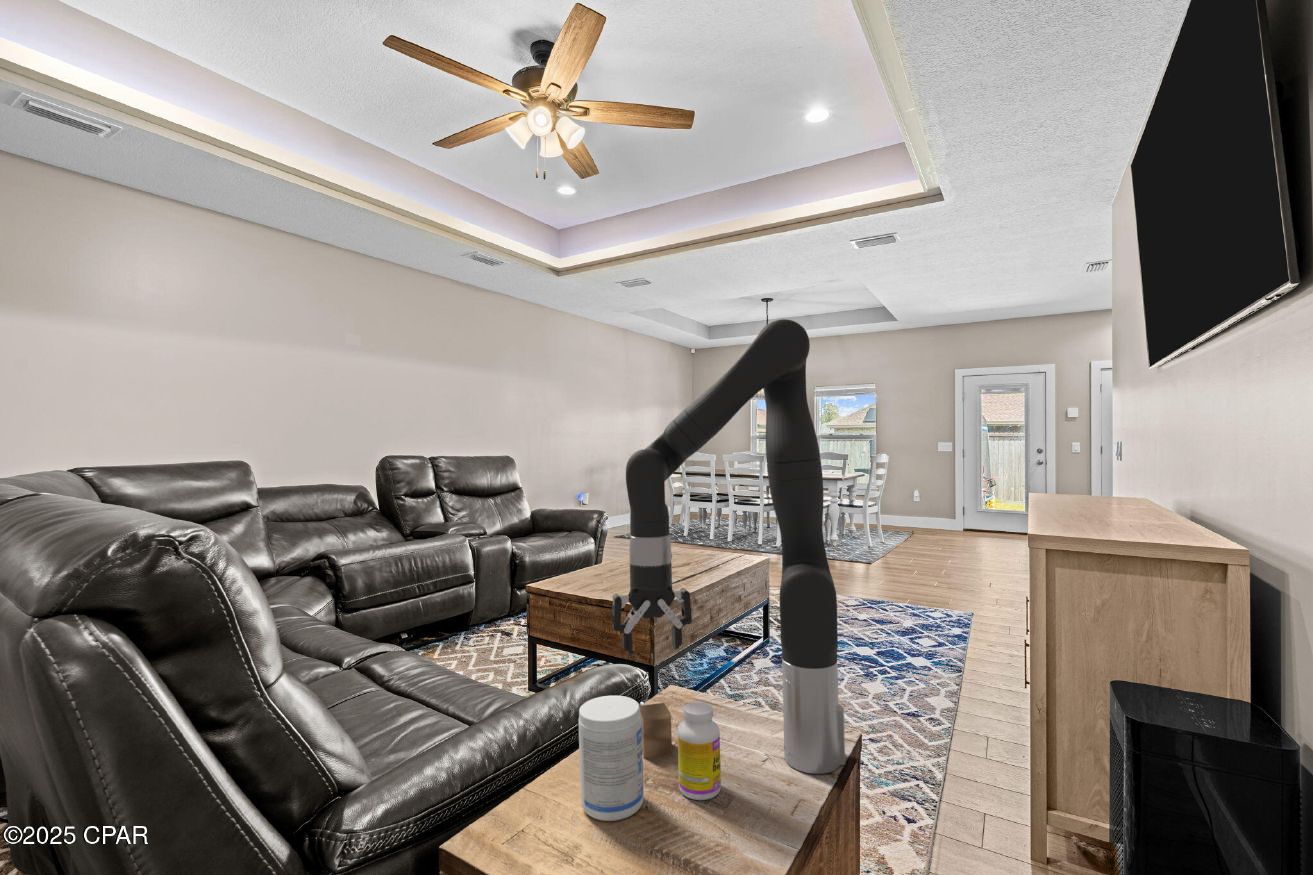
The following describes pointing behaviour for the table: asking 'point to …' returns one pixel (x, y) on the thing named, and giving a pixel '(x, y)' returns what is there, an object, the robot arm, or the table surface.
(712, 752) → the supplement bottle
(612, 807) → the supplement tub
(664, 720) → the walnut block
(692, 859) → the table surface
